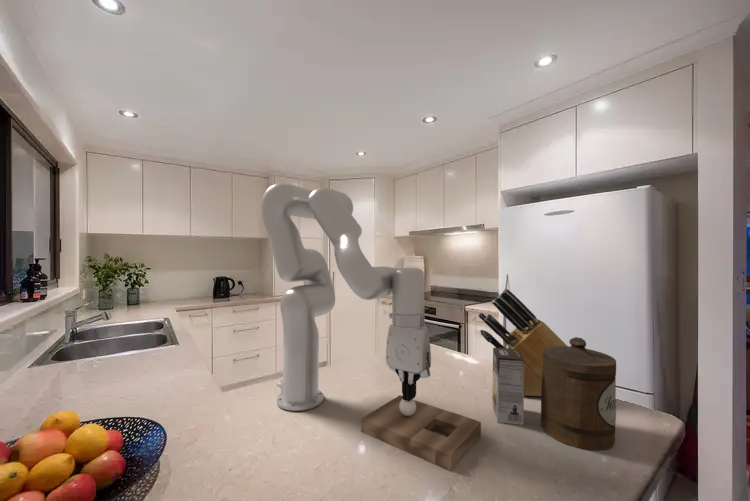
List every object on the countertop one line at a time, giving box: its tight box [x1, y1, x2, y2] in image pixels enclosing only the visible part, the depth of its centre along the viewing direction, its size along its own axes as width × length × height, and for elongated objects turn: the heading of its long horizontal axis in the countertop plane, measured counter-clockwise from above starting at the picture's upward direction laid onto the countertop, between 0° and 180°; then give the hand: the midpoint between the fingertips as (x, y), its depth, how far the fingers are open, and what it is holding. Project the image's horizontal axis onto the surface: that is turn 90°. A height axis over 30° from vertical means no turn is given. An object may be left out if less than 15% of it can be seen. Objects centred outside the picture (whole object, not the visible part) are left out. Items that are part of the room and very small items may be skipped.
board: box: [360, 395, 482, 472], centre depth 76 cm, size 22×16×3 cm
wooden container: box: [540, 336, 617, 451], centre depth 78 cm, size 15×15×22 cm
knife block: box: [477, 288, 568, 397], centre depth 101 cm, size 11×35×31 cm, turn 83°
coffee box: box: [492, 347, 525, 426], centre depth 85 cm, size 9×6×16 cm
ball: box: [399, 398, 416, 416], centre depth 78 cm, size 4×4×4 cm
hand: (409, 398), depth 78 cm, fingers closed
